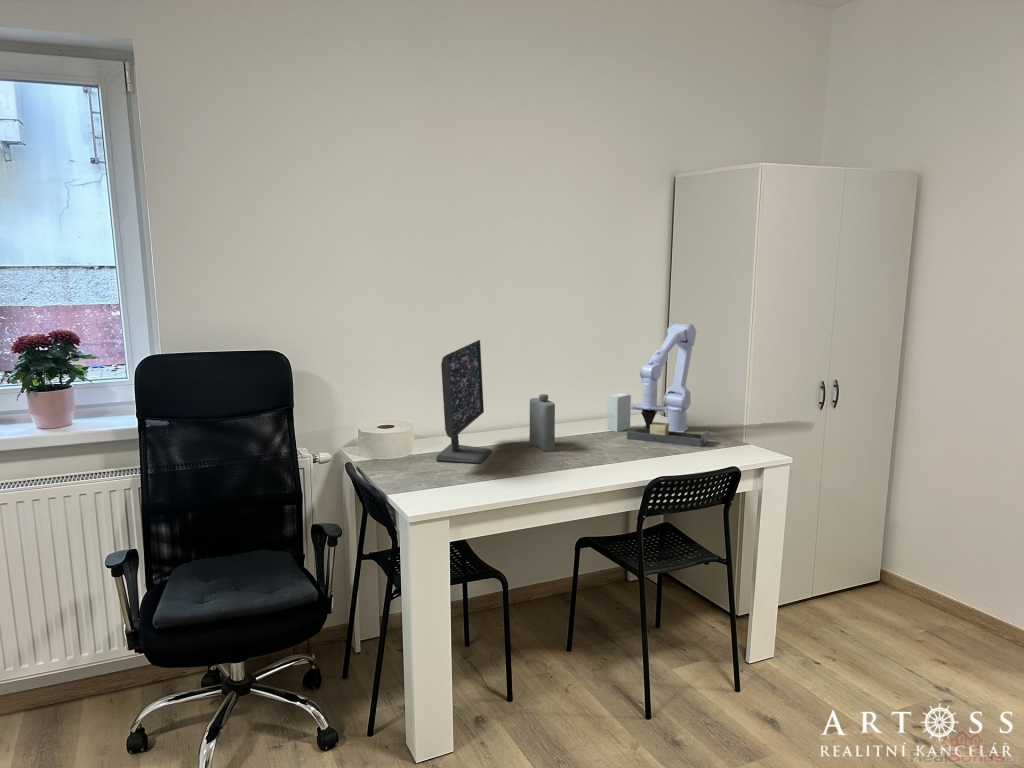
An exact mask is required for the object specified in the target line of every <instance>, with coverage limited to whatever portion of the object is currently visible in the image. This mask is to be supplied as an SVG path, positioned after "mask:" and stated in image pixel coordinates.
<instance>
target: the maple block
mask: <svg viewBox="0 0 1024 768" xmlns="http://www.w3.org/2000/svg"><path fill="white" fill-rule="evenodd" d="M650 434H658V435H668V436H669V423H667V422H661V421H660V422H659V421H653V422H652V424H651V425H650Z"/></svg>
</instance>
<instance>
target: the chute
mask: <svg viewBox="0 0 1024 768" xmlns="http://www.w3.org/2000/svg"><path fill="white" fill-rule="evenodd" d="M709 435H710V431H709V430H705V431H703V433H693V432H692V433H691V432H686V431H685V432H675V431H669V436H668V435H658V434H650V429H646V427H645V428H643V427H632V431H629V430H628V431H627V432H626V439H627V440H634V441H643V442H644V441H645V442H654V443H663V444H671V445H672V444H673V445H681V446H682V445H683V446H688V447H689V446H690V447H701V448H705V446H706V445H707V444H708V443H709V440H710V439H709Z"/></svg>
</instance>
